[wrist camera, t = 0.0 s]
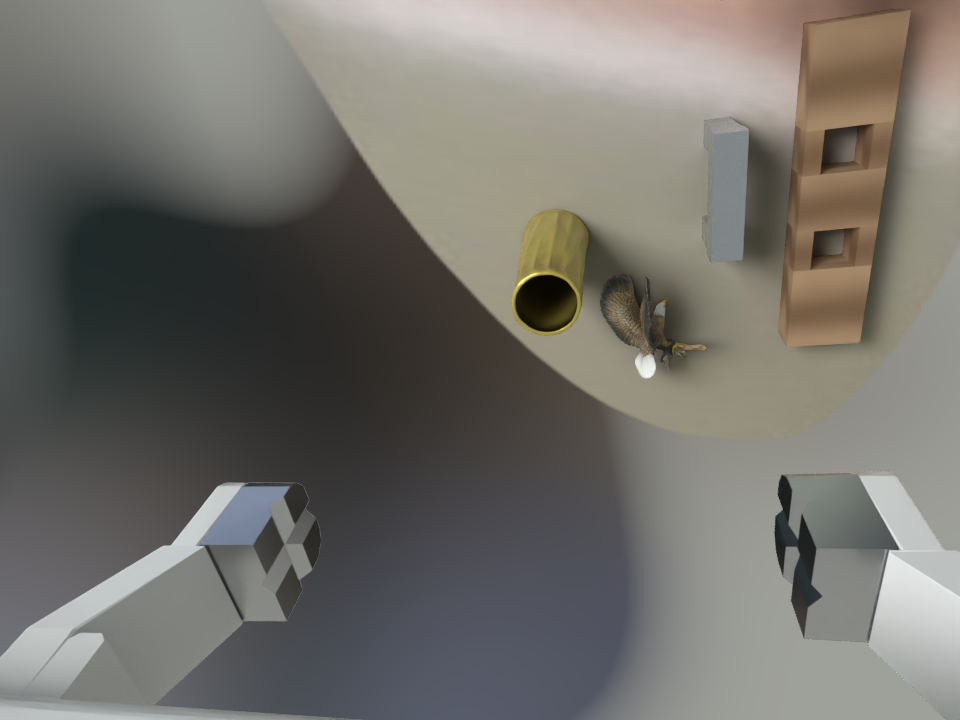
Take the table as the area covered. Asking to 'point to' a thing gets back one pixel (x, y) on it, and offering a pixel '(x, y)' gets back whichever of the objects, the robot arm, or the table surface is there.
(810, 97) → the rail
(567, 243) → the vase
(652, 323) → the eagle figurine
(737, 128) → the grey u-shaped block
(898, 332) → the table surface
